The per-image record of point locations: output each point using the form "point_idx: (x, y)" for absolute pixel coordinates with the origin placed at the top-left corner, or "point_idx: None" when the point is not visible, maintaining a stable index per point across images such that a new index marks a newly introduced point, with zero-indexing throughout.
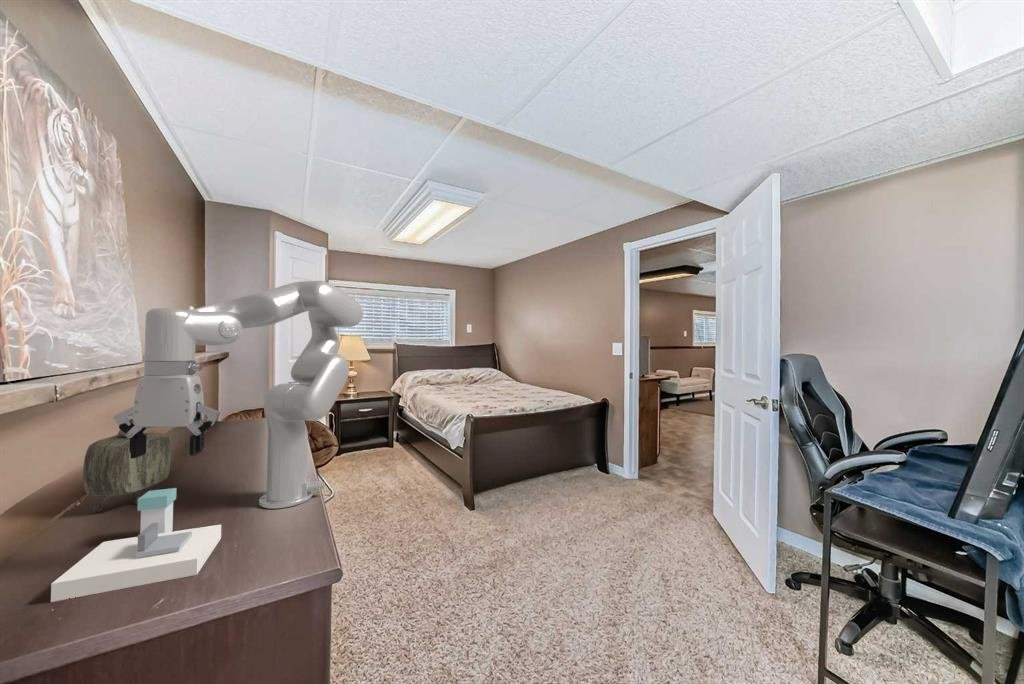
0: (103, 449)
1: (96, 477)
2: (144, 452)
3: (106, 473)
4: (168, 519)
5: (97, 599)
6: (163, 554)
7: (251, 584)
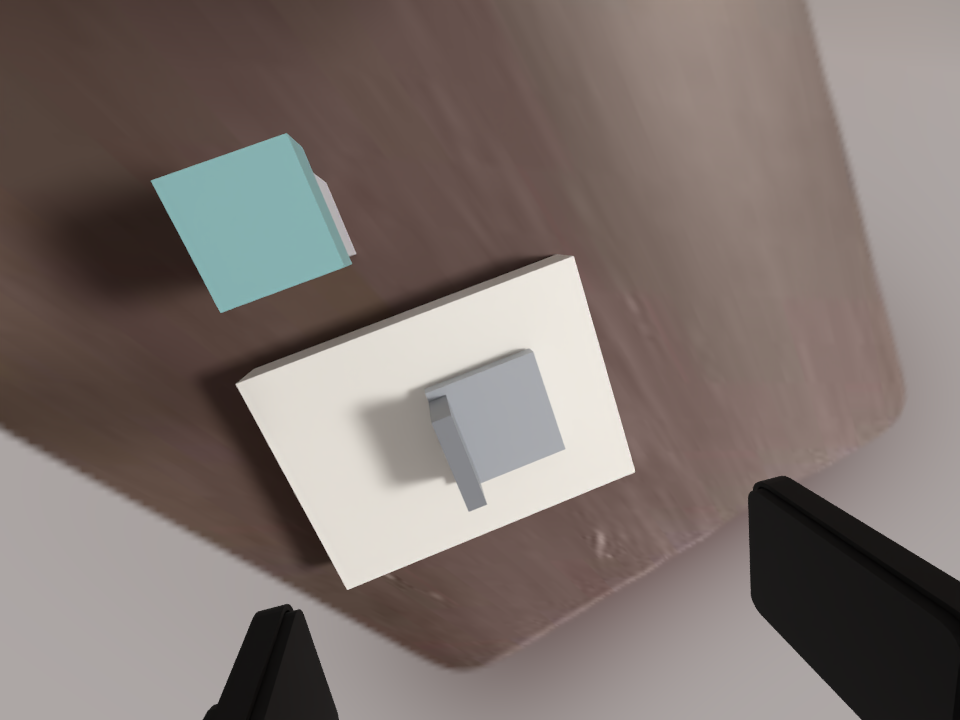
0: None
1: None
2: (300, 637)
3: None
4: (333, 219)
5: None
6: None
7: (759, 481)
